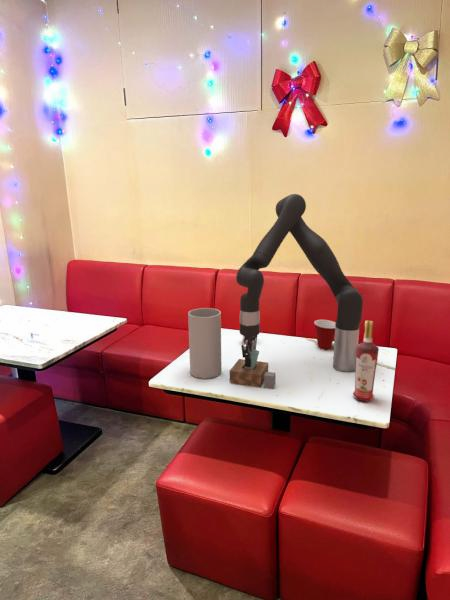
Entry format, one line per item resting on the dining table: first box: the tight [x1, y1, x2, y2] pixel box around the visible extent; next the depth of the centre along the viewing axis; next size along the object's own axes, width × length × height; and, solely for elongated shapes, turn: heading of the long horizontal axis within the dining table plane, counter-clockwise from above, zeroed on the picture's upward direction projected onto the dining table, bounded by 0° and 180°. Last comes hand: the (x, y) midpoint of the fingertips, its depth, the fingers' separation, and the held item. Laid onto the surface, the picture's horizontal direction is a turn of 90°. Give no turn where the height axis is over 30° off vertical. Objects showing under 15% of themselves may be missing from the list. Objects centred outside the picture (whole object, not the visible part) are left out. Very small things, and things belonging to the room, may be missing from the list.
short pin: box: [263, 371, 276, 390], centre depth 158 cm, size 3×3×5 cm
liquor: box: [352, 320, 380, 402], centre depth 145 cm, size 7×7×28 cm
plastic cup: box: [313, 319, 336, 351], centre depth 194 cm, size 11×11×12 cm
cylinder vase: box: [187, 307, 222, 380], centre depth 167 cm, size 12×12×25 cm
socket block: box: [229, 358, 269, 388], centre depth 164 cm, size 12×12×5 cm
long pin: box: [244, 349, 260, 370], centre depth 163 cm, size 3×3×10 cm
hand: (249, 364), depth 163 cm, fingers open, 3 cm apart
